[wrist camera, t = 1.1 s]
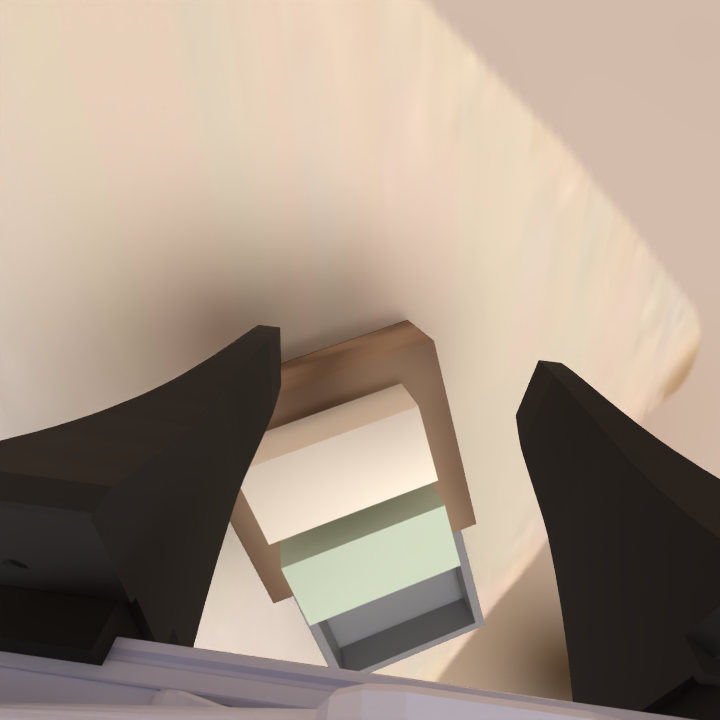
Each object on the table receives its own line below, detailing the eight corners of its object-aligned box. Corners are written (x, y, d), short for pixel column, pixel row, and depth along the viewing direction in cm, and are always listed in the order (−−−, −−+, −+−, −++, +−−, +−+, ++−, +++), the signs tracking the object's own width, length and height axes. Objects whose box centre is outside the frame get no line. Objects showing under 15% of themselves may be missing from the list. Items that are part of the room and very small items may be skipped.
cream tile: (269, 507, 20) (269, 544, 18) (237, 441, 19) (233, 473, 17) (420, 450, 21) (438, 480, 19) (401, 383, 20) (418, 406, 17)
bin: (333, 649, 30) (338, 686, 28) (284, 548, 26) (285, 580, 24) (469, 594, 31) (484, 625, 29) (440, 488, 27) (456, 513, 25)
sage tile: (305, 583, 22) (309, 625, 20) (279, 529, 21) (280, 568, 19) (441, 530, 23) (460, 565, 21) (426, 474, 22) (444, 505, 19)
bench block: (273, 548, 26) (273, 603, 22) (196, 392, 22) (180, 429, 18) (448, 481, 27) (476, 523, 23) (407, 320, 23) (433, 340, 19)
